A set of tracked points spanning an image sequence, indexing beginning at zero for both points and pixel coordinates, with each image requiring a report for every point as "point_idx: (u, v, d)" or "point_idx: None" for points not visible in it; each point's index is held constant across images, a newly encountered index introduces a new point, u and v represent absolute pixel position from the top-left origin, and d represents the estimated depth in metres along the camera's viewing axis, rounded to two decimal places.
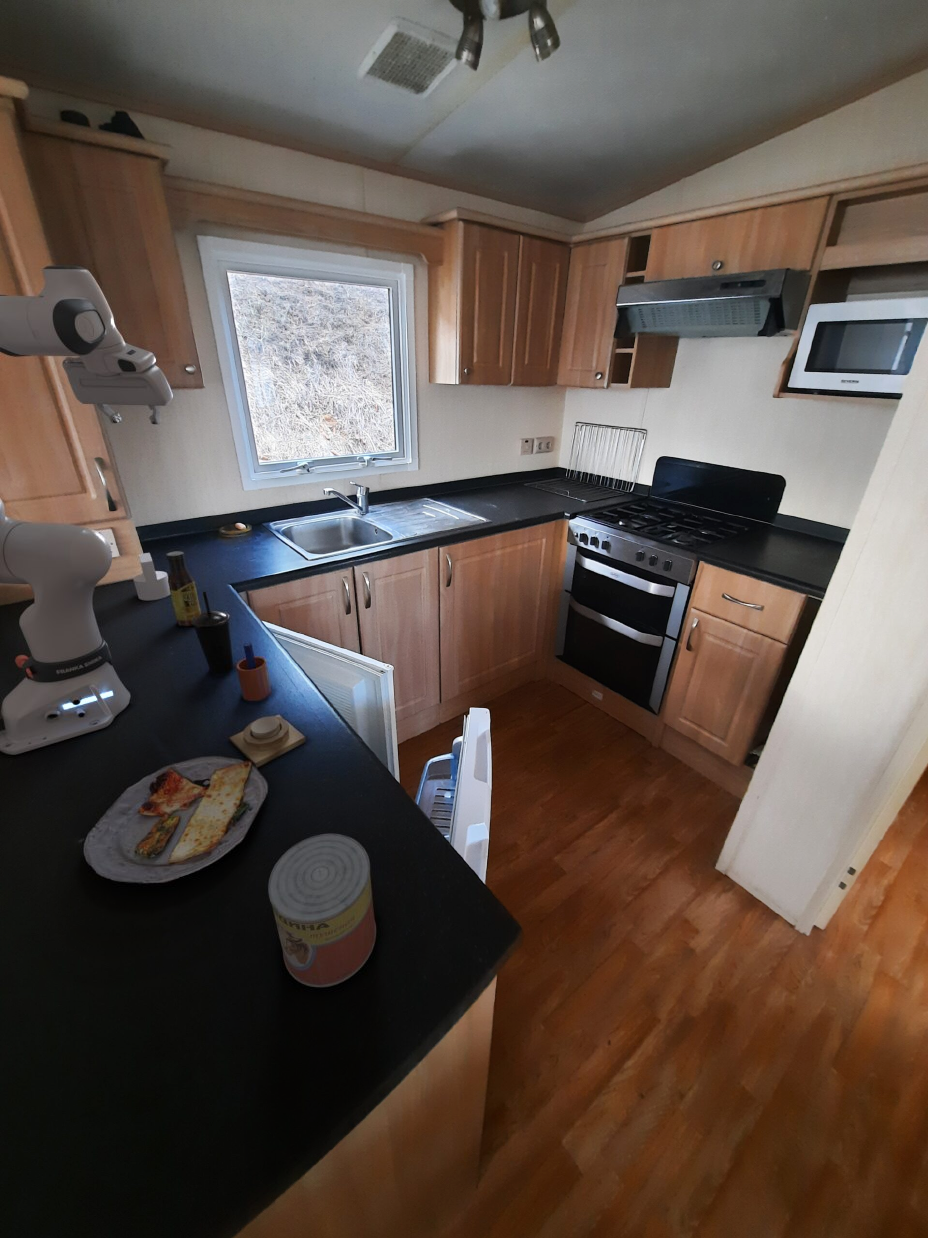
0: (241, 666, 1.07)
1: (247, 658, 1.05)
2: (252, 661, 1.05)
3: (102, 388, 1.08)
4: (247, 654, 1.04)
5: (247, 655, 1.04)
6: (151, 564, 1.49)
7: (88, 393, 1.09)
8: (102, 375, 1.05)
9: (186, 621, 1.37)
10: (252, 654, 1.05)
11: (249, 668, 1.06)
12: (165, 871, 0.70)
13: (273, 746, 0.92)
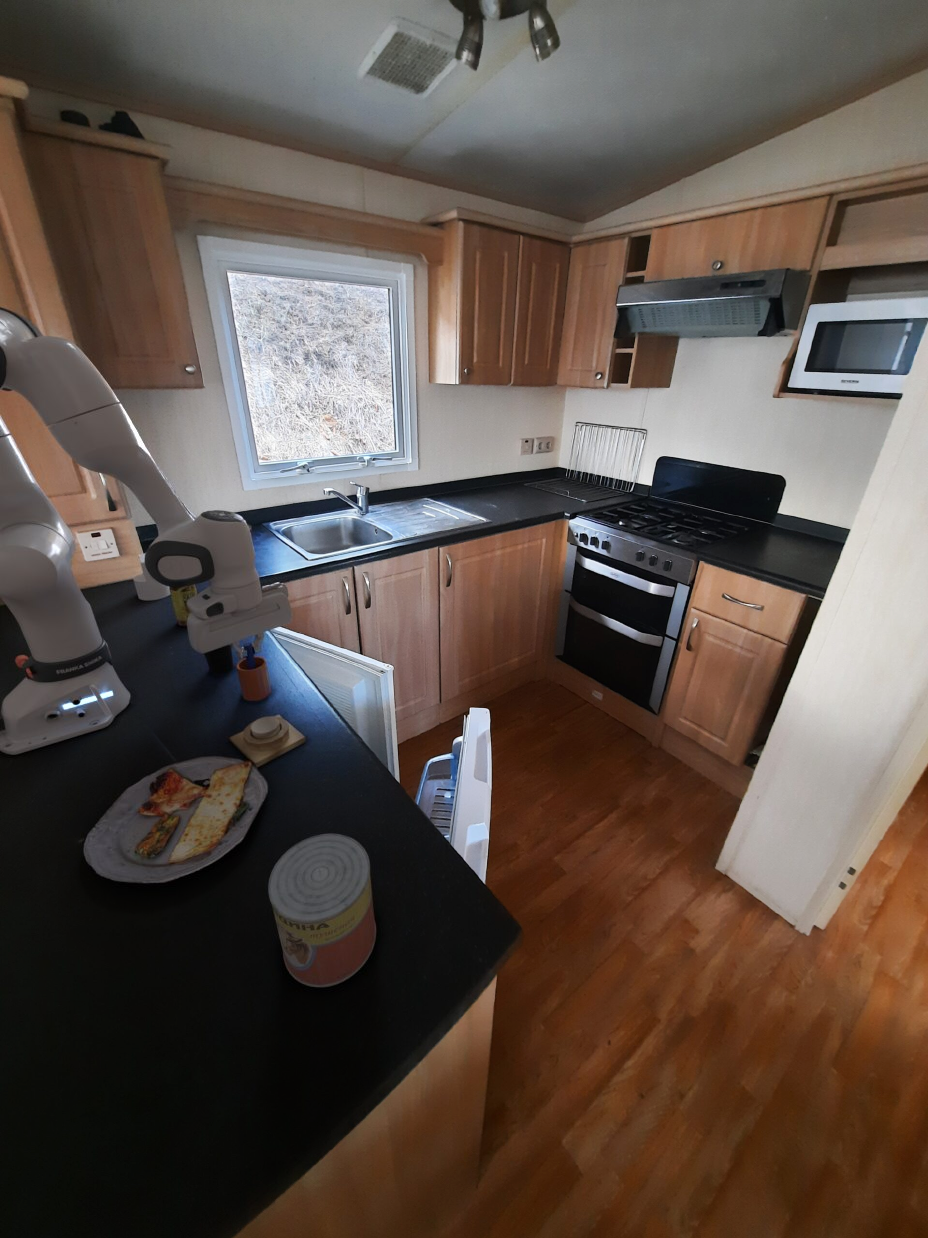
0: (241, 666, 1.07)
1: (247, 658, 1.05)
2: (252, 661, 1.05)
3: None
4: (247, 654, 1.04)
5: None
6: None
7: None
8: None
9: (186, 621, 1.37)
10: (252, 654, 1.05)
11: (249, 668, 1.06)
12: (165, 871, 0.70)
13: (273, 746, 0.92)
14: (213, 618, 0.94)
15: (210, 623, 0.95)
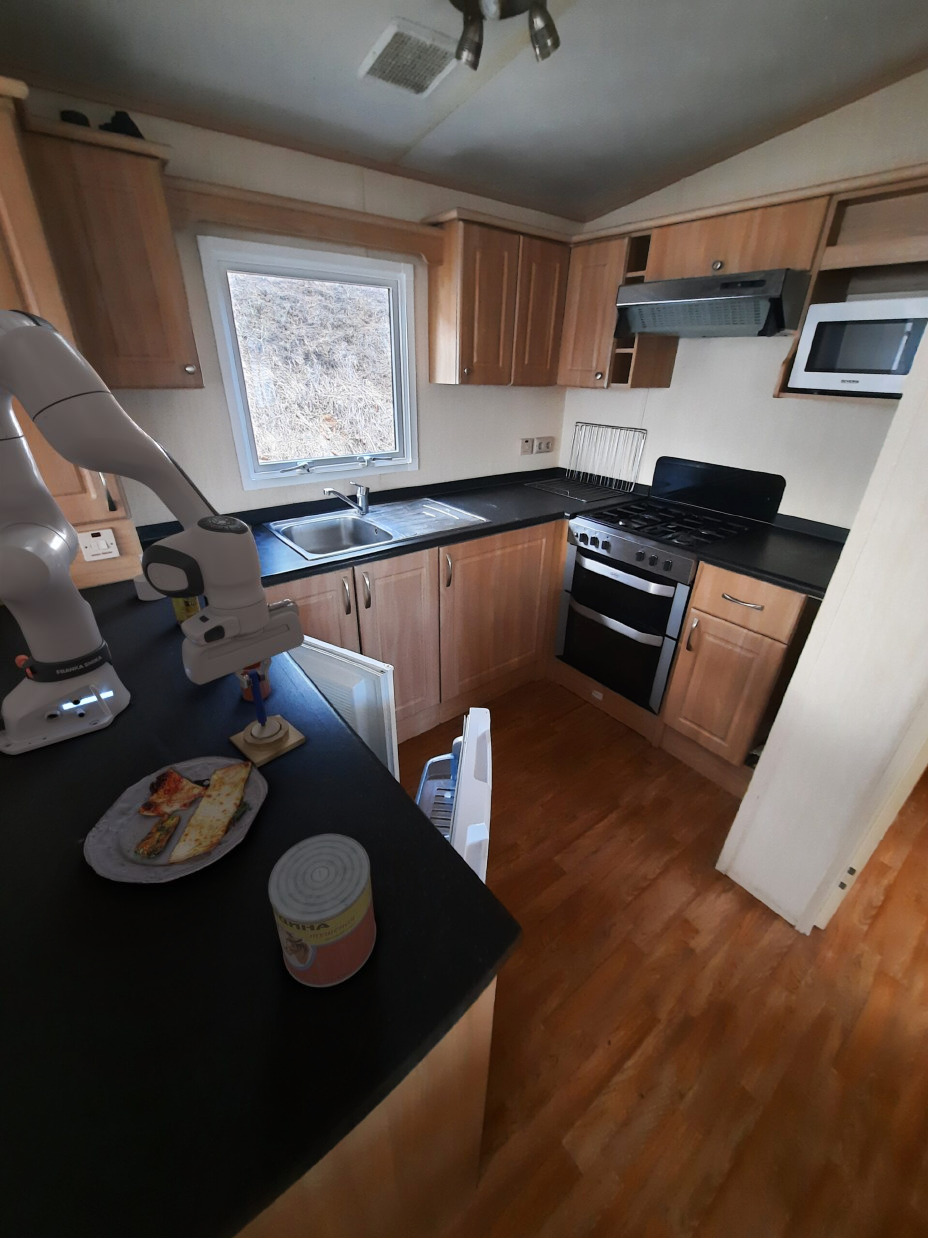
0: None
1: (252, 687, 0.91)
2: (258, 690, 0.91)
3: None
4: (252, 682, 0.90)
5: None
6: None
7: None
8: None
9: None
10: (258, 682, 0.91)
11: (254, 698, 0.92)
12: (165, 871, 0.70)
13: (273, 746, 0.92)
14: (212, 644, 0.80)
15: (209, 650, 0.81)
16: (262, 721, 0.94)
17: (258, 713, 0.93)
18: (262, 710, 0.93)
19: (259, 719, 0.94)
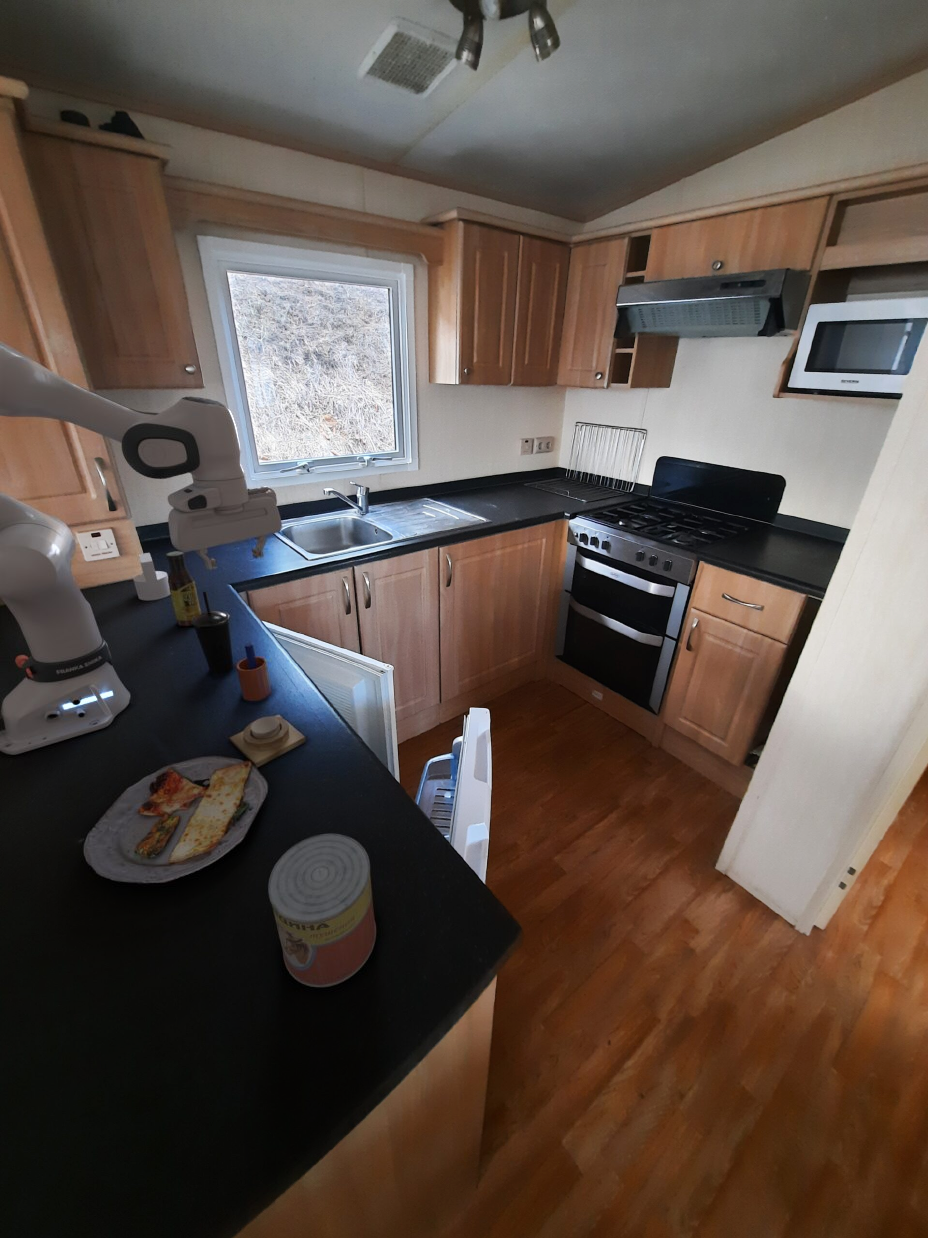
0: (241, 666, 1.07)
1: (248, 658, 1.05)
2: (253, 661, 1.05)
3: None
4: (248, 654, 1.04)
5: (248, 655, 1.04)
6: (151, 564, 1.49)
7: None
8: None
9: (186, 621, 1.37)
10: (253, 654, 1.05)
11: (250, 668, 1.06)
12: (165, 871, 0.70)
13: (273, 746, 0.92)
14: (195, 513, 0.89)
15: (192, 519, 0.90)
16: None
17: None
18: None
19: None
